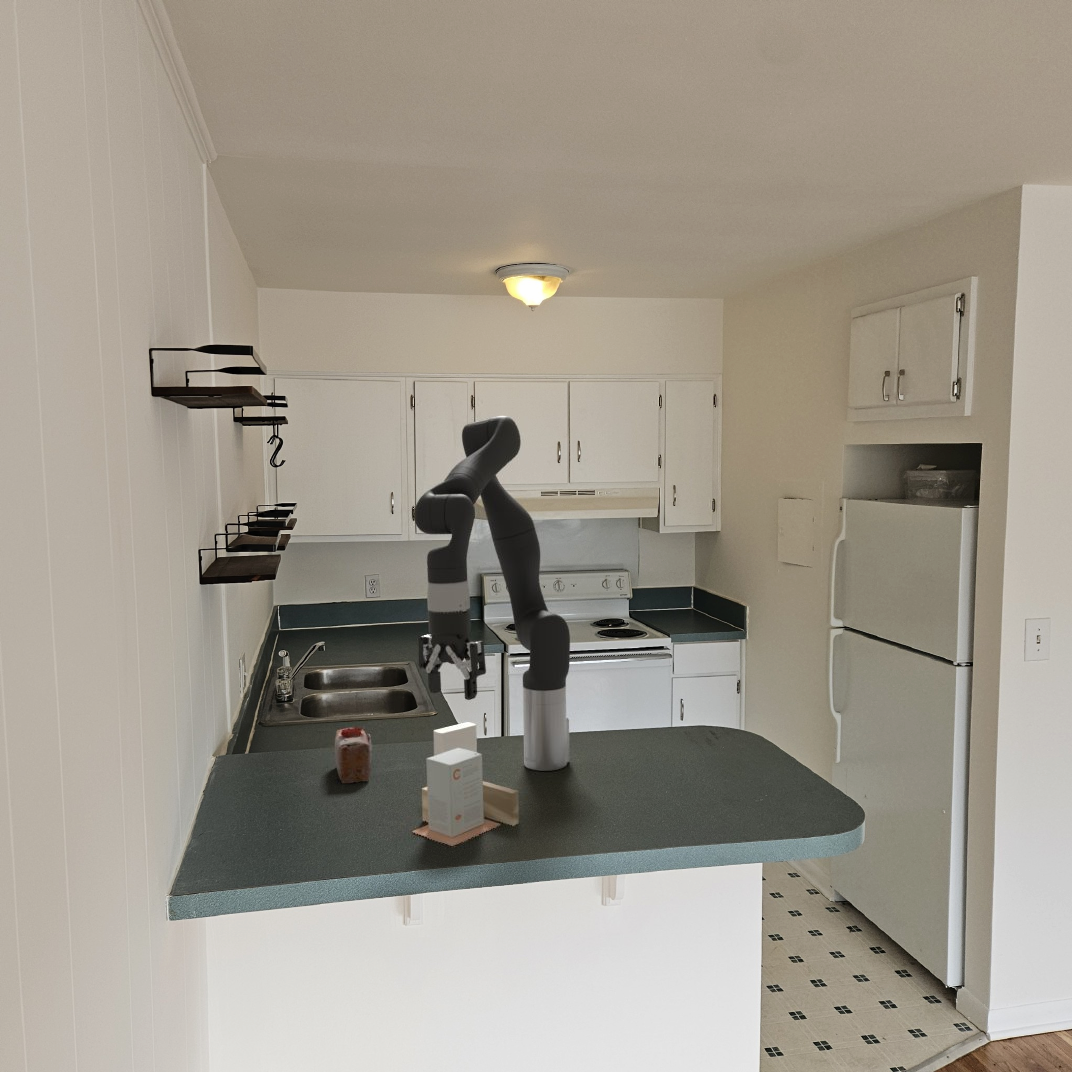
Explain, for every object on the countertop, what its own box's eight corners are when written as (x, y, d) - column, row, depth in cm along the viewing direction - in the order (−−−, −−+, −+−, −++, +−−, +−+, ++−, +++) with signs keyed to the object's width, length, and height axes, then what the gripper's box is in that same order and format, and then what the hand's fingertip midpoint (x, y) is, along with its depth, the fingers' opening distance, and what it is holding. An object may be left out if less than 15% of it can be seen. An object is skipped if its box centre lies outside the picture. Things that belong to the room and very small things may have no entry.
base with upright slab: (451, 797, 182) (449, 736, 181) (425, 785, 188) (423, 727, 187) (487, 786, 188) (486, 727, 187) (461, 775, 194) (459, 718, 193)
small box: (460, 816, 171) (458, 746, 170) (484, 824, 167) (483, 753, 166) (427, 829, 165) (425, 757, 164) (451, 838, 161) (450, 764, 160)
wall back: (463, 806, 177) (462, 775, 176) (518, 823, 168) (518, 791, 167) (457, 808, 176) (456, 777, 175) (513, 826, 167) (512, 793, 166)
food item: (332, 765, 202) (331, 720, 202) (369, 761, 205) (368, 717, 204) (337, 785, 189) (336, 738, 189) (377, 781, 192) (375, 734, 191)
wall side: (457, 806, 177) (456, 775, 176) (463, 808, 176) (462, 777, 175) (422, 820, 170) (421, 788, 169) (428, 822, 169) (427, 790, 168)
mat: (460, 812, 173) (460, 811, 173) (500, 825, 167) (500, 823, 167) (412, 832, 164) (412, 831, 164) (452, 847, 158) (452, 845, 158)
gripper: (405, 606, 167) (409, 695, 169) (464, 612, 158) (468, 706, 160) (434, 600, 173) (438, 686, 174) (492, 606, 164) (496, 696, 166)
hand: (452, 695), depth 167 cm, fingers open, 8 cm apart
